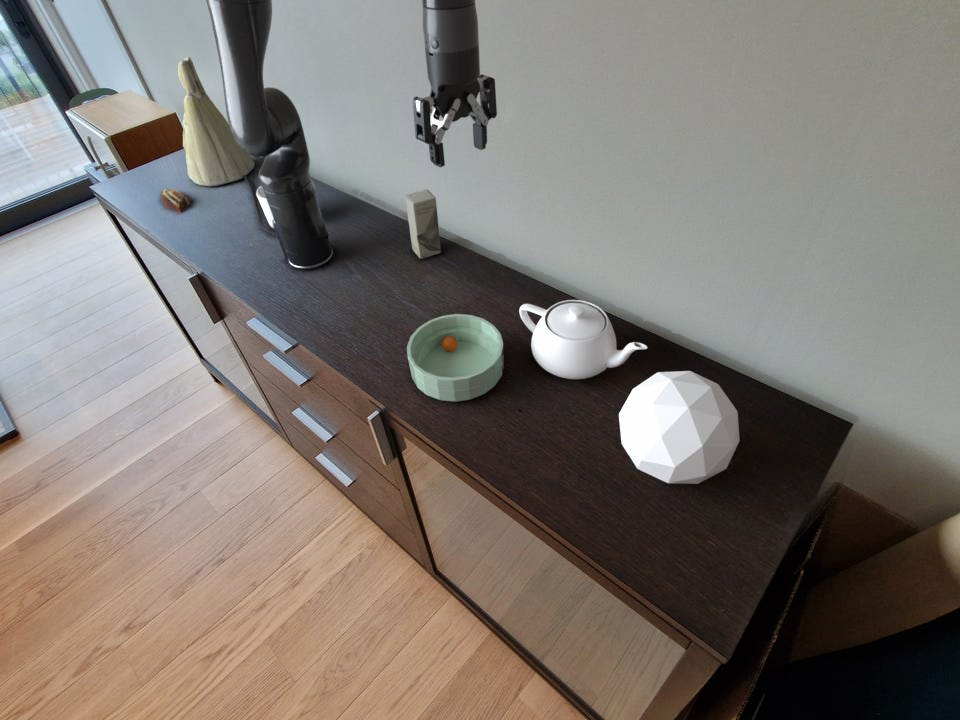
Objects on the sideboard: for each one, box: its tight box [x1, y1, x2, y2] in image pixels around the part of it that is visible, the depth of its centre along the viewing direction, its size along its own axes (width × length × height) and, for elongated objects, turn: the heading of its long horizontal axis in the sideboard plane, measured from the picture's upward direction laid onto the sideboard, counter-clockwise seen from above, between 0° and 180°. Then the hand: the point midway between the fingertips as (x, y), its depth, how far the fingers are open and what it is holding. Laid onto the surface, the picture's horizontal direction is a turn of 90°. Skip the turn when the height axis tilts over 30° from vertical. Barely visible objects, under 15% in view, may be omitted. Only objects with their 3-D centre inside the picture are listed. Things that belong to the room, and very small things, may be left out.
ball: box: [442, 337, 458, 352], centre depth 89 cm, size 3×3×3 cm
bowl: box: [406, 313, 505, 403], centre depth 86 cm, size 15×15×6 cm
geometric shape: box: [618, 370, 740, 485], centre depth 68 cm, size 14×15×15 cm
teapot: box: [518, 299, 649, 380], centre depth 84 cm, size 22×14×11 cm, turn 54°
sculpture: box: [177, 55, 255, 187], centre depth 136 cm, size 17×18×30 cm
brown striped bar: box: [160, 188, 191, 213], centre depth 135 cm, size 14×6×2 cm, turn 50°
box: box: [404, 189, 442, 259], centre depth 108 cm, size 5×4×13 cm
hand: (459, 156), depth 84 cm, fingers open, 8 cm apart
